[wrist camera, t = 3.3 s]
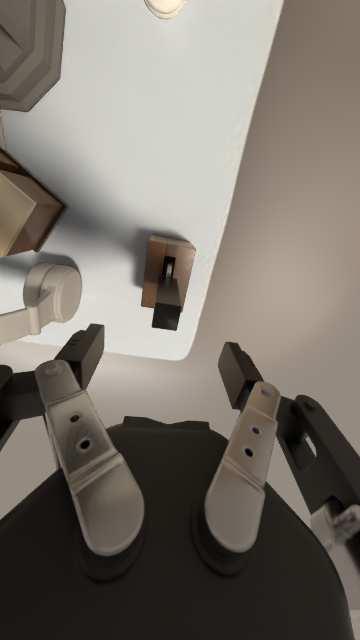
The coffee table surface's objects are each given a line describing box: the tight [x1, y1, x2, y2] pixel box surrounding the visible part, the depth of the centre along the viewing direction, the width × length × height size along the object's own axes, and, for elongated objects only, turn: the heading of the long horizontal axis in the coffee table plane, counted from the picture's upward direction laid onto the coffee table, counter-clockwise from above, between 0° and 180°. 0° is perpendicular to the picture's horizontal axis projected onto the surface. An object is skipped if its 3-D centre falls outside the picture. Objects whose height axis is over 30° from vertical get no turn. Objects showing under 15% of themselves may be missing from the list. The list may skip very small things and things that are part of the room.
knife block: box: [141, 235, 196, 312], centre depth 29 cm, size 9×6×7 cm, turn 169°
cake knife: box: [152, 256, 182, 331], centre depth 24 cm, size 5×2×18 cm, turn 169°
